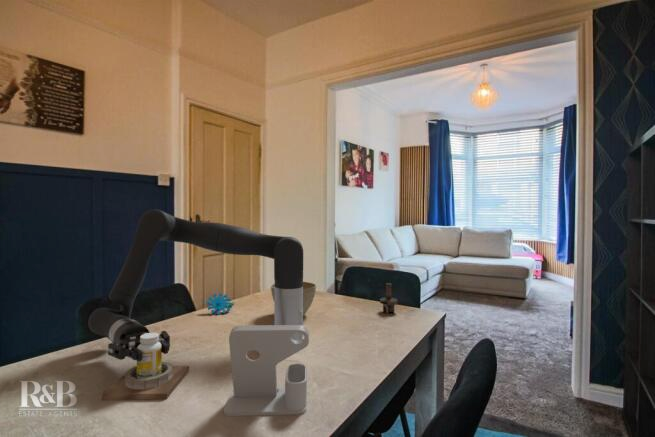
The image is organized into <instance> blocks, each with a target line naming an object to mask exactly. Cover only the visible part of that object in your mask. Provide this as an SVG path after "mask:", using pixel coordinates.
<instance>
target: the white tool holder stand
mask: <svg viewBox="0 0 655 437" xmlns="http://www.w3.org/2000/svg"><path fill="white" fill-rule="evenodd" d="M295 333H301V334H303V337H304V338H303V339H302V340H300V341H296V340H293V339H292V338H291V336H292V335H293V334H295ZM309 336H310V332H309V329H308V328H307V327H306V326H305V325H303V326H302V325H274V324H273V325H272V324H269V325H268V324H267V325H265V324H262V325H259V324H258V325H256V324H255V325H252V324H251V325H250V324H249V325H236V326H233V328H232V329H231V330H230V333H229V336H228V343H229V354H230V356H229V357H230V364H231V365H230V366H231V376H232V388H233V389H232V390H231V392H230V394H229V397H228V399H227V402H226V404H225V406H224V408H223V414H224V416H228V417H231V416H232V417H233V416H239V417H241V416H271V415H272V416H274V415H277V416H278V415H279V416H280V415H302V414H305V413H307V408H308V407H307V403H308V402H307V400H308V399H307V396H308V394H307V393H308V392H307V391H308V390H307V388H308V386H307V385H308V383H307V382H308V375H307V374H308V373H307V372H308V368H307V366H306V364H301V363H292V364H289V365H288V366H287V368H286V372H285V380H284V382H285V383H284V387H283V386H282V387H281V386H280V387H278V382H277V381H278V380H277V379H278V378H277V365H278V364H279V363H282V362H283V361H285V360H287V359H288V358H289V357H292V356H293V355H295V354H297V353H299V352H301V351H302V350H304V349H306V348H307V347H308V345H309V341H310V337H309ZM249 351H256V352H258V353H259V356H258V358H256V359H250V358H249V357H248V355H247V353H248V352H249Z"/></svg>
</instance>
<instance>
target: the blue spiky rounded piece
mask: <svg viewBox="0 0 655 437" xmlns="http://www.w3.org/2000/svg"><path fill="white" fill-rule="evenodd" d="M213 298H214V299H213ZM231 300H232V299H231V297H228V295H227V294H226V293H225V294H224V295H223V293H222V292H218V296H217V293H213V294H212V296H211V295H210V296H209V297H208V300H207V301H206V305H207V310H210V313H212V314H215V313H216V315H218V316H220V314H221V311H222V315H225V314H226V313H227V311H228V312H229V311H231V309H232V308H233V306H235V301H232V302H231ZM225 309H226V310H225Z"/></svg>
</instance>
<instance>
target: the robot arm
mask: <svg viewBox="0 0 655 437" xmlns="http://www.w3.org/2000/svg"><path fill="white" fill-rule="evenodd" d="M161 241H162V242H173V243H174V242H175V243H176V242H177V243H182V244H183V243H185V244H190V245H193V246H196V247H199V248H201V249H205V250H209V251H212V252H217V253H222V254H228V255H237V256H238V255H239V256H261V257H265V258H268V259H273V267H274V268H273V278H274V284H275V301H274V300H273V302H274V305H273V307H274V312H273V313H274V315H273V317H274V322H273V325H302V326H304V315H303V282H304V248H303V245H302V243H301V241H299V240H298V239H297V238H296V237H293V236H279V235H271V234H270V235H269V234H265V233H261V232H258V231H255V230H250V229H247V228H243V227H239V226H235V225H232V224H225V223H220V222H212V221H211V222H207V221H199V222H198V221H193V220H192V221H191V220H189V219H187V220H186V219H183V218H180V217H177V216H174V215H171V214H170V213H167V212H165V211H163V210H160V209H149V210H147V211H145V213H143V214H142V215H141V217H140V219H139V222H138V224H137V228H136V231H135V234H134V238H133V241H132V243H131V246H130V249H129V252H128V254H127V257H126V260H125V261H124V264H123V265H122V268H121V271H120V272H119V274H118V277H117V278H116V280H115V281H114V284H113V286H112V288H111V289H110V292H109V295H108V297H109V300H110V301H112V302H114V303H116V304H118V305H119V306H120V308H119V310H118V309H112V308H108V307H99V308H97V309H95V310H94V311H93V312H91V314H90V315H89V317H88V322H87V324H88V328H89V330H90V331H91V332H92V333H93V334H96V335H99V336H101V337H105V338H107V339H109V341H110V342H111V343H108V344H107V346H108V348H107V349H108V350H107V352H108V353H107V355H108V356H111V357H112V358H115V359H117V360H119V361H120V360H121V361H123V360H124V359H126V358H127V357H128V359H132V360H133V361H136V362H137V361H141V360H142V352H141V351H140V350H139V349H138V348H137V347H138V346H139V345H140V344H141V343H140V336H141V335H143V334H146V333H151V332H150V330H149V329H148V328H147V327H146V326H145V325H143V324H141V323H140V322H139V321H137V320H135V319H133V318H132V317H131V316H132V312H133V306H134V302H135V300H136V297H137V296H138V293H139V291H140V290H141V287H142V285H143V283H144V280H145V278H146V274H147V270H148V267H149V266H148V265H149V261H150V258H151V255H152V253H153V252H154V249H155V247H156V246H157V245H158V243H159V242H161ZM131 318H132V319H131ZM168 333H169V332H167V331H166V330H162V331H161V332H160V333H159V340H158V342H160V343H161V345H162V354H164V355H166V354H168V353H169V352H170V347H171V335H169V334H168ZM303 337H304V335H303V334H301V333H295V334H293V335H292V336H291V338H292V339H293V340H296V341H300V340H303V339H304V338H303Z"/></svg>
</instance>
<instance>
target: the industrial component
mask: <svg viewBox="0 0 655 437" xmlns="http://www.w3.org/2000/svg"><path fill="white" fill-rule="evenodd" d="M385 292H386V293H385V297H381V298H380V299H379V303H380V304H382V311H384V312H383V313H387V314H390V313H389V312H394V313H395V306H396V305H398V299H397V298H394V297H392V283H388V282H387V283H385Z"/></svg>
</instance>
